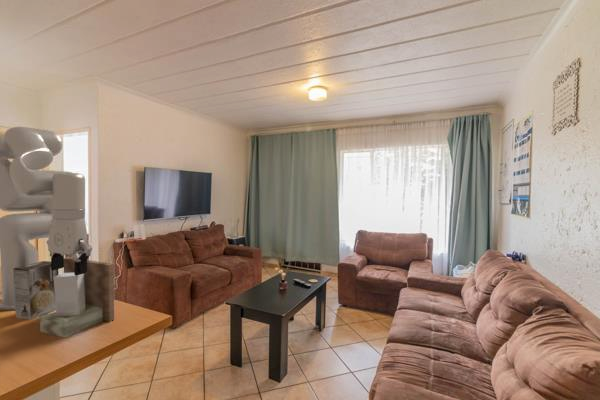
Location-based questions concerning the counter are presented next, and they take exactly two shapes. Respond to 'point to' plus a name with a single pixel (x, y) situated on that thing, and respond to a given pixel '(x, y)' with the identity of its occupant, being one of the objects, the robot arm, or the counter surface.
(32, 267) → the coffee box
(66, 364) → the counter surface
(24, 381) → the counter surface
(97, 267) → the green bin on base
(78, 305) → the skincare box
